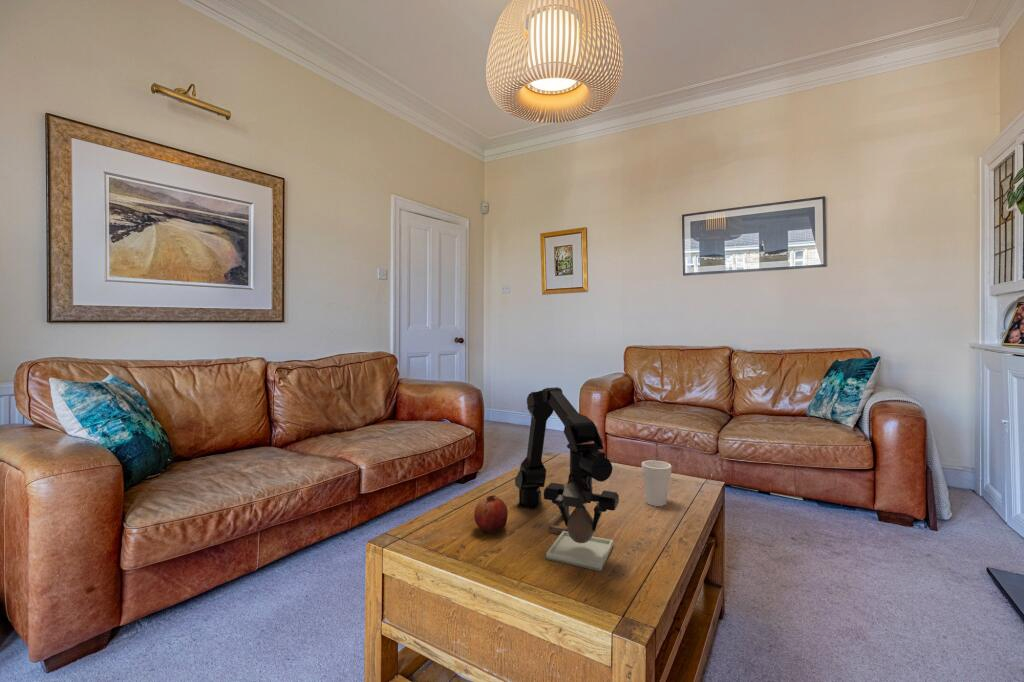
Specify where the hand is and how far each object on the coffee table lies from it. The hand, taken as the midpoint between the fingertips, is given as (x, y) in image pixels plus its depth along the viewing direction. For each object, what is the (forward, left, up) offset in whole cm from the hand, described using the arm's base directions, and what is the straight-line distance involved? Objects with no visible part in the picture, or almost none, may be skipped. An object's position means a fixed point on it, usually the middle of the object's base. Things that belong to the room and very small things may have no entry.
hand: (580, 528), depth 117 cm
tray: (0, 0, -6) cm, 6 cm away
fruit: (-27, +2, -7) cm, 28 cm away
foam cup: (+14, +43, -7) cm, 46 cm away
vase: (0, 0, -3) cm, 3 cm away
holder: (-6, +13, -6) cm, 16 cm away
